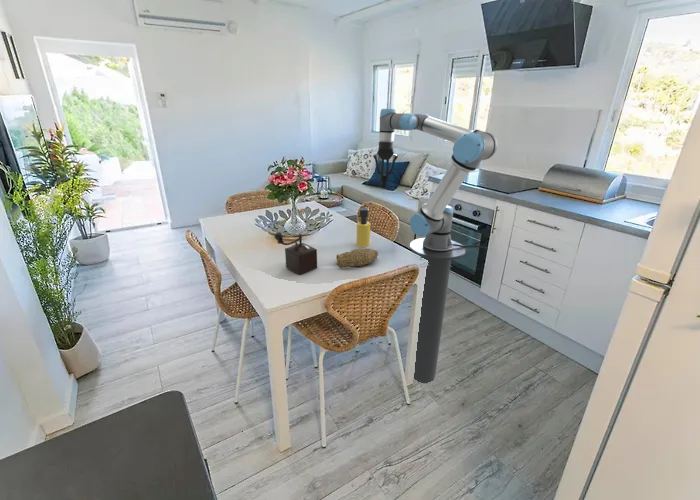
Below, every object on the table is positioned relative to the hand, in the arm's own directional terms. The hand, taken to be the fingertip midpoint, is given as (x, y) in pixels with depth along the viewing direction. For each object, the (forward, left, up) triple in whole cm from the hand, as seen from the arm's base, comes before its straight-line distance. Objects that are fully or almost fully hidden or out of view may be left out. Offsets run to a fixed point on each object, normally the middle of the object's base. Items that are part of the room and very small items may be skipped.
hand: (383, 187), depth 187 cm
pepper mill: (+39, +47, -29) cm, 67 cm away
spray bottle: (+10, +14, -28) cm, 33 cm away
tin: (+50, -20, -29) cm, 61 cm away
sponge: (+12, +38, -29) cm, 49 cm away
